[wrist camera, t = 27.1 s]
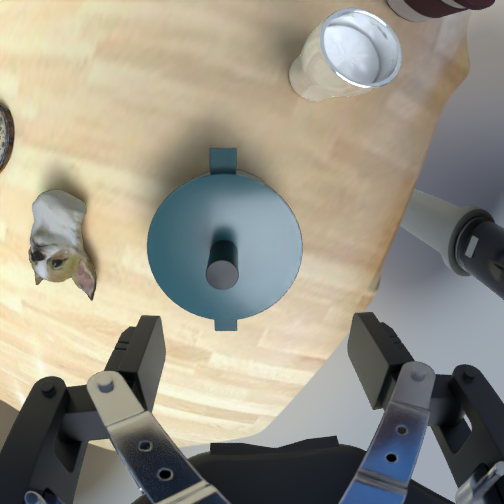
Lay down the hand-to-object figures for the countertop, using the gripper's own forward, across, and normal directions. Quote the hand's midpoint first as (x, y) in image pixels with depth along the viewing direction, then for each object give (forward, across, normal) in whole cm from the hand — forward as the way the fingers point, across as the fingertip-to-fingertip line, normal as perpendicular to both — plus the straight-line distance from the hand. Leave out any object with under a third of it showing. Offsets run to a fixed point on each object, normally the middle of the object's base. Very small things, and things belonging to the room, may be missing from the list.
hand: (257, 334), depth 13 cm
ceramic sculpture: (+26, +23, +4) cm, 35 cm away
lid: (+18, +2, +3) cm, 18 cm away
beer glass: (+26, -8, -15) cm, 31 cm away
